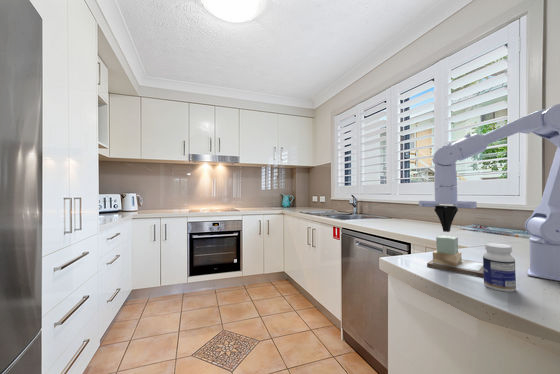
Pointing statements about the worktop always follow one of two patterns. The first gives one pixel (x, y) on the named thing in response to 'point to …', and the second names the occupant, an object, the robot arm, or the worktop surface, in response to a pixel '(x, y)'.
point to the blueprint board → (455, 264)
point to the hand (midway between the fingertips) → (446, 231)
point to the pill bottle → (499, 267)
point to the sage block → (447, 244)
